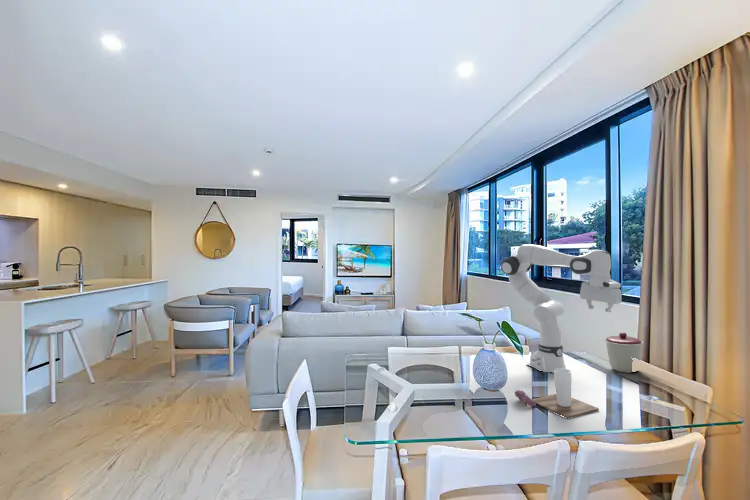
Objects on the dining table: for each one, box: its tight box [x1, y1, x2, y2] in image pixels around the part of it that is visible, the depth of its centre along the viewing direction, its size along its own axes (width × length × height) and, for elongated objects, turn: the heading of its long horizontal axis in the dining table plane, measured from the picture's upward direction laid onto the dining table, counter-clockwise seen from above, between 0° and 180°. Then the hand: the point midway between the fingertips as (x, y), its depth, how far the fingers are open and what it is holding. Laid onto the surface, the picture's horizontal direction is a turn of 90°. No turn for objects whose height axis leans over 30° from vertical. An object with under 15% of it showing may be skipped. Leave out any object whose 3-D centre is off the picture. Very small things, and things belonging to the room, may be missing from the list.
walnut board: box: [530, 393, 600, 419], centre depth 160 cm, size 20×18×1 cm
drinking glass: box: [553, 368, 573, 407], centre depth 159 cm, size 7×7×15 cm
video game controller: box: [514, 389, 537, 407], centre depth 165 cm, size 10×5×7 cm, turn 7°
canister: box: [604, 332, 644, 374], centre depth 203 cm, size 18×18×21 cm
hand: (599, 310), depth 180 cm, fingers open, 8 cm apart
